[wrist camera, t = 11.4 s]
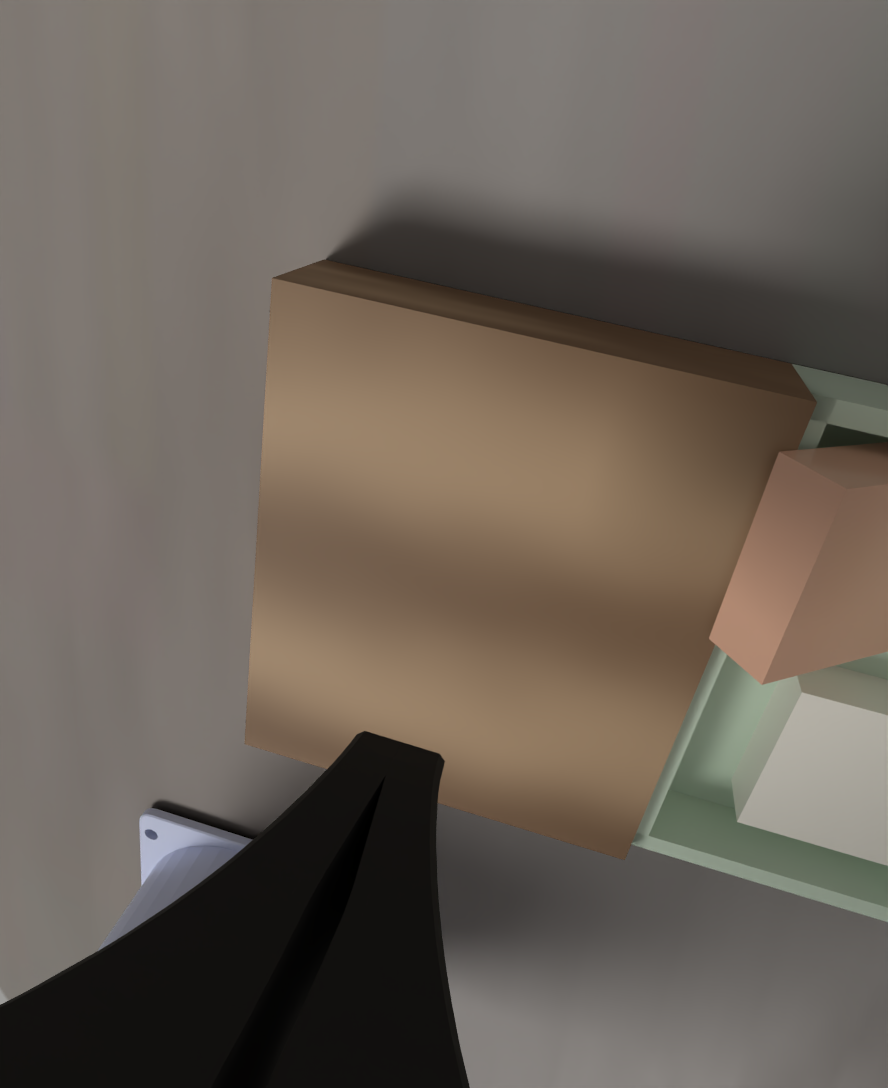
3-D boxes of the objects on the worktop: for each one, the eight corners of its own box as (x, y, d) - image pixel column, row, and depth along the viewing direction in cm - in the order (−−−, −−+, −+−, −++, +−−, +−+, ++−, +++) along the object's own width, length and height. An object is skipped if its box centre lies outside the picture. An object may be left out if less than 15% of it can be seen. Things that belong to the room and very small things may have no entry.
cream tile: (736, 821, 21) (731, 779, 22) (911, 872, 20) (894, 825, 22) (801, 692, 19) (790, 654, 20) (999, 745, 18) (973, 702, 19)
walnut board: (626, 781, 24) (624, 860, 21) (286, 681, 25) (244, 744, 22) (791, 363, 17) (817, 402, 15) (324, 259, 19) (271, 277, 16)
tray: (934, 871, 22) (964, 945, 20) (626, 781, 24) (625, 842, 21) (1229, 461, 16) (1316, 508, 14) (791, 363, 17) (811, 393, 15)
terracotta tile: (846, 608, 19) (902, 647, 18) (708, 638, 17) (761, 684, 16) (926, 438, 17) (997, 470, 16) (779, 451, 15) (847, 488, 14)
